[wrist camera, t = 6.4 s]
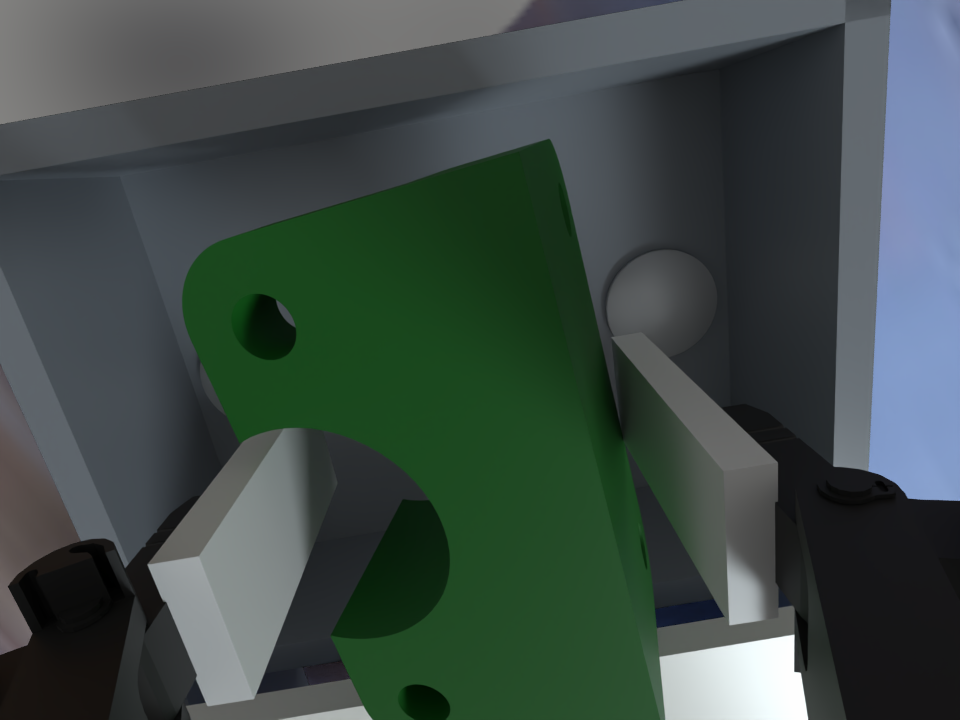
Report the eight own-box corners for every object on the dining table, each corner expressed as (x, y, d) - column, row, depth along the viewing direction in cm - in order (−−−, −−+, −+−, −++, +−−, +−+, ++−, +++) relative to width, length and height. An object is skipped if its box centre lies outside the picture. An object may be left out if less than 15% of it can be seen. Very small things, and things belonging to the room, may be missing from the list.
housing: (333, 816, 30) (296, 1014, 23) (96, 151, 20) (-101, 142, 13) (753, 748, 30) (846, 928, 23) (735, 35, 20) (892, -38, 13)
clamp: (388, 255, 18) (137, 152, 9) (581, 204, 16) (494, 21, 8) (455, 651, 17) (251, 940, 9) (665, 641, 16) (675, 988, 7)
